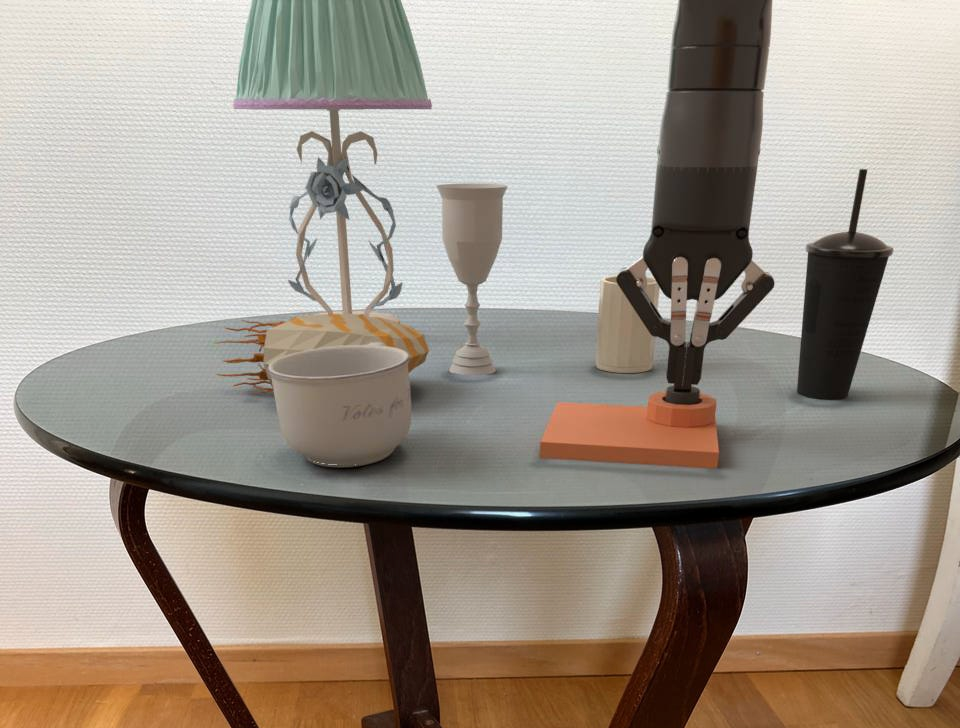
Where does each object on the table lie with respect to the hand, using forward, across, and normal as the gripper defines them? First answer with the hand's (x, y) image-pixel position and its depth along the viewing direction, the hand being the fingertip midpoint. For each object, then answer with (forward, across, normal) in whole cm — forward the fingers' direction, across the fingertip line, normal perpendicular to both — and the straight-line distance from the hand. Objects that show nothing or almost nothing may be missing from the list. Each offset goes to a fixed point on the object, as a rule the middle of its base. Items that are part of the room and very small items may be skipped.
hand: (682, 388), depth 80 cm
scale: (+4, -4, -3) cm, 6 cm away
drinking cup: (+4, +14, +16) cm, 22 cm away
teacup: (+4, -26, -10) cm, 28 cm away
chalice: (+4, -22, +19) cm, 29 cm away
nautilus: (+4, -35, +7) cm, 36 cm away
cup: (+4, -6, +24) cm, 25 cm away
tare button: (+2, 0, 0) cm, 2 cm away
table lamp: (+4, -40, +32) cm, 51 cm away
